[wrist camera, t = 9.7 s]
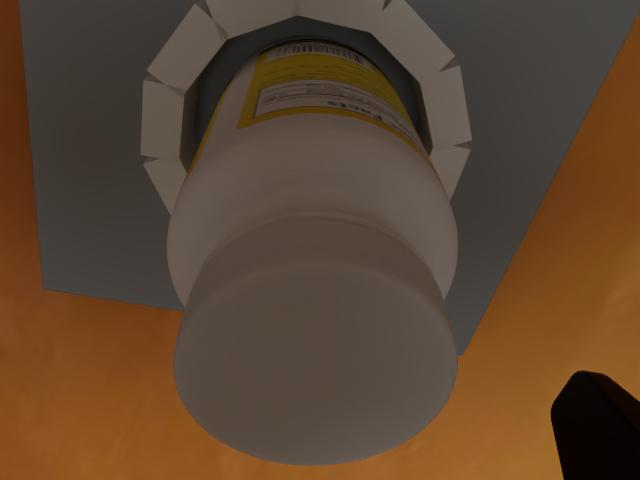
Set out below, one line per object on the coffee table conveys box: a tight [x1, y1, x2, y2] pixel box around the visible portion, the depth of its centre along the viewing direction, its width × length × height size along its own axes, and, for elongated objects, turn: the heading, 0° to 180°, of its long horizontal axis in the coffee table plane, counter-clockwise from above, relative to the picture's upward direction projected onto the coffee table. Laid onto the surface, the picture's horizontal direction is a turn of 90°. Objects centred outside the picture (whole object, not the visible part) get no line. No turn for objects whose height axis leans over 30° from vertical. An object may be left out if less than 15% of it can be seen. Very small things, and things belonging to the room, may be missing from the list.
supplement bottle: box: [167, 36, 458, 465], centre depth 11 cm, size 5×5×10 cm
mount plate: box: [19, 0, 640, 355], centre depth 15 cm, size 16×16×3 cm
